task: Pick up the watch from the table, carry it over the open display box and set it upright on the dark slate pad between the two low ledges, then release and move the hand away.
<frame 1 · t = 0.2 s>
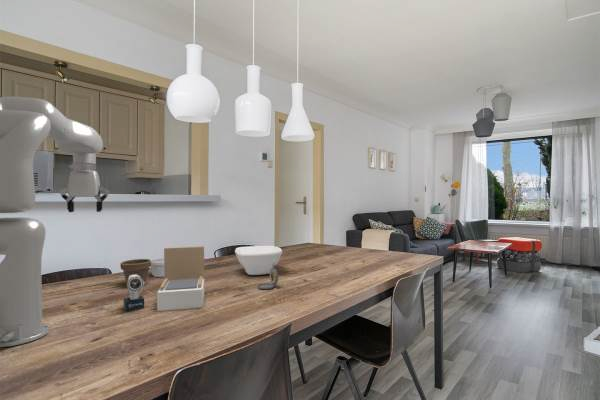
hand: (85, 211, 130), 31 cm above the table, tool pointing down, fingers open, 9 cm apart
bowl: (258, 273, 158), on the table
open display box: (182, 301, 116), on the table
ramekin: (165, 275, 156), on the table
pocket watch: (268, 288, 134), on the table
flower pot: (136, 285, 137), on the table
watch: (134, 308, 110), on the table
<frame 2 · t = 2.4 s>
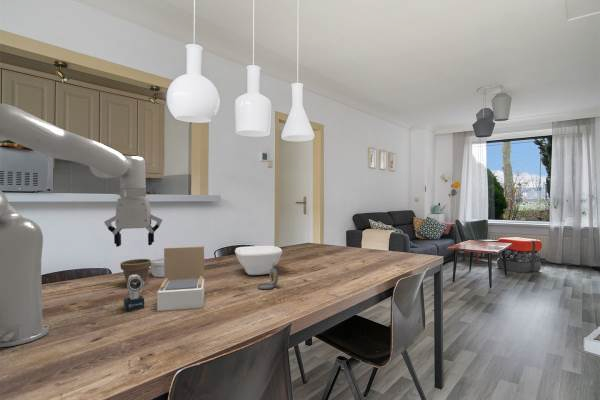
hand: (134, 245, 109), 21 cm above the table, tool pointing down, fingers open, 9 cm apart
nothing on the table moved.
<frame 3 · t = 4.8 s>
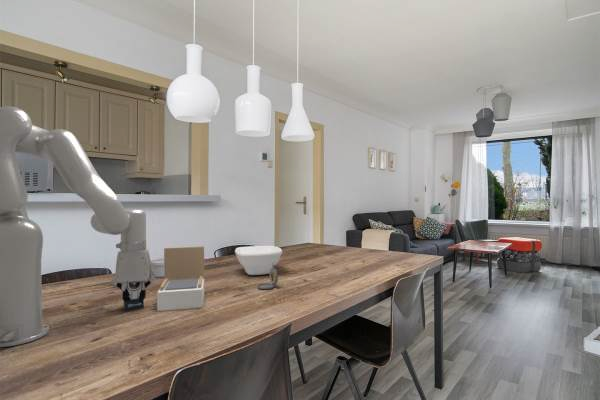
hand: (134, 301, 110), 2 cm above the table, tool pointing down, fingers closed on watch, 3 cm apart
watch: (133, 308, 110), on the table, touching gripper
everything else where it was.
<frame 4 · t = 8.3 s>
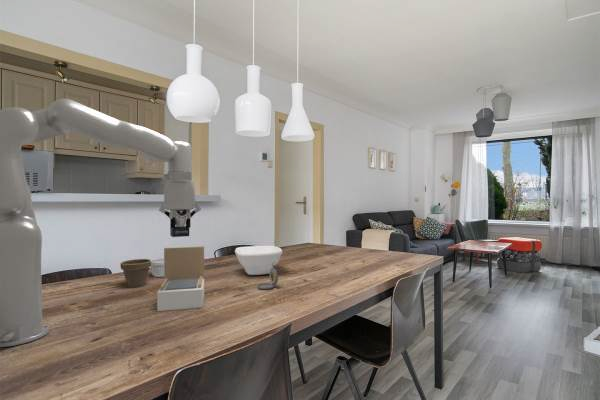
hand: (180, 229, 115), 25 cm above the table, tool pointing down, fingers closed on watch, 3 cm apart
watch: (180, 236, 116), point 23 cm above the table, touching gripper
everything else where it was.
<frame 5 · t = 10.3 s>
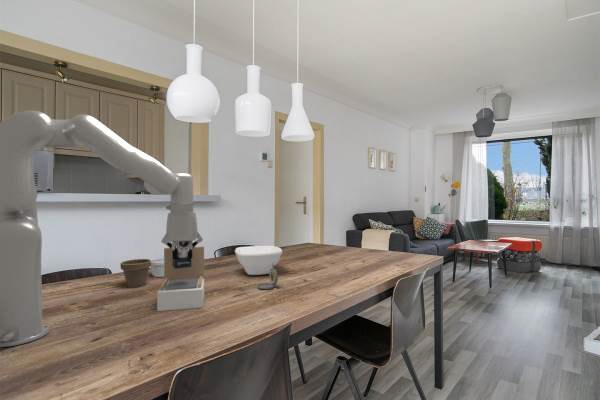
hand: (182, 260, 116), 15 cm above the table, tool pointing down, fingers closed on watch, 3 cm apart
watch: (182, 267, 116), point 12 cm above the table, touching gripper
everything else where it was.
when the fingers open (10 cm above the table, at t = 11.9 s): watch drops 1 cm, resting on open display box.
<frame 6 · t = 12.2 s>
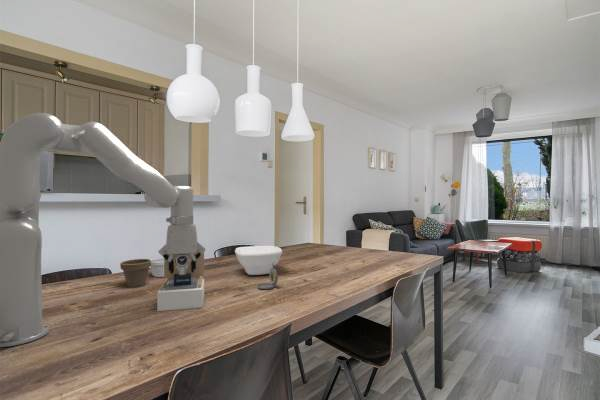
hand: (182, 271, 116), 11 cm above the table, tool pointing down, fingers open, 6 cm apart
watch: (182, 284, 115), point 6 cm above the table, touching open display box
everything else where it was.
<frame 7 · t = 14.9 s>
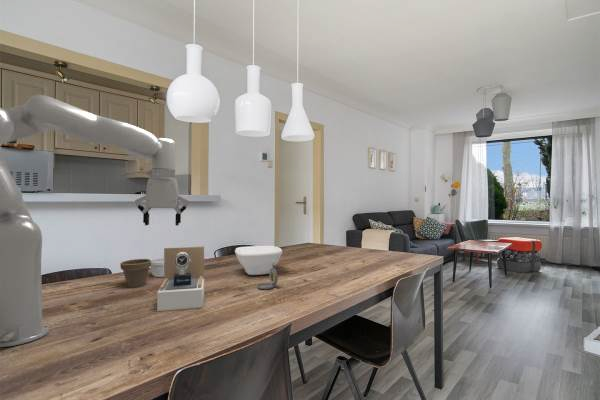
hand: (162, 225, 113), 27 cm above the table, tool pointing down, fingers open, 9 cm apart
nothing on the table moved.
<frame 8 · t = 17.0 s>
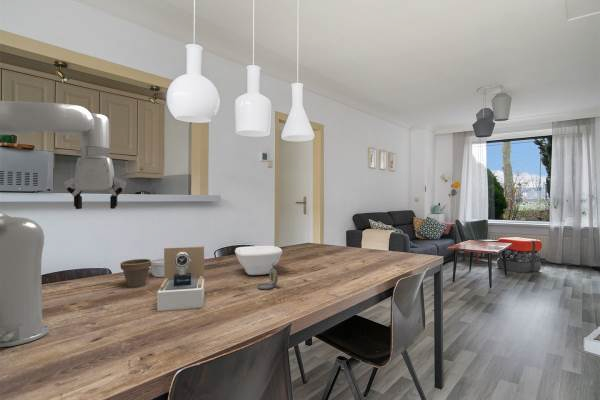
hand: (96, 208, 104), 33 cm above the table, tool pointing down, fingers open, 9 cm apart
nothing on the table moved.
at the end: watch 0.7 cm off-centre on the open display box, point 6.3 cm above the open display box's base; watch tilted 0°; the gripper is holding nothing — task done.
